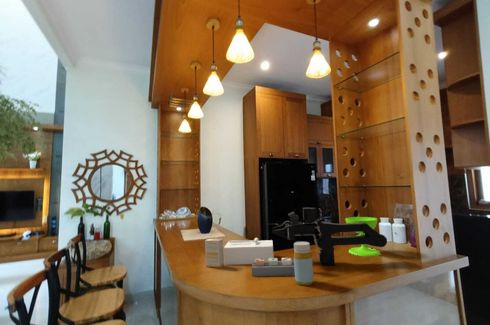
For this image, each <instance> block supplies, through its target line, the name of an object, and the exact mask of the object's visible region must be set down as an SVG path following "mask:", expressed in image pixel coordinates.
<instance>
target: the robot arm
mask: <svg viewBox="0 0 490 325" xmlns="http://www.w3.org/2000/svg"><path fill="white" fill-rule="evenodd" d="M287 216H288V217H289V219H290V221H289V220H285V221H284V222H283V223H282V224H280V225H277V226H274V227H272V228H271V230H272V234H274V235H276V236H279V237H281V238H284V239H286V240H289V241H294V240H295V239H296V236H298V237H299V236H300V237H304V236H313V238H314V240H313V241H314V244H315V245H316V246H317V247H318V248H319V250H318V251H319V252H318V254H317V255H318V262H319V264H320V265H321V266H323V267H324V266H326V267H327V266H336V265H337V263H336V261H335V246H357V245H358V246H359V245H361V246H362V245H364V244H365V245H368V246H370V247H371V246H372V247H378V248H384V247H386V246H387V243H388V239H387V237H386V236H385V235H384V234H381V233H380V232H378V231H376V230H375V229H372V228H371V227H370V226H369V225H368V224H366V223H363V222H361V223H346V222H345V223H332V222H329V221H328V222H327V221H321V220H320V219H318V208H316V207H302V217H303V220H304V221H305V223H304V222H303V223H302V222H300V221H299V219H300V217H299V215H298V214H296V213H295V212H294V211H292V212H289V213H287ZM318 232H319V233H318ZM353 232H354V233H356V232H363V233H364V235H361V234H360V235H340V236H339V235H338V236H337V235H335V234H339V233H353ZM333 235H335V236H333Z"/></svg>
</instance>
